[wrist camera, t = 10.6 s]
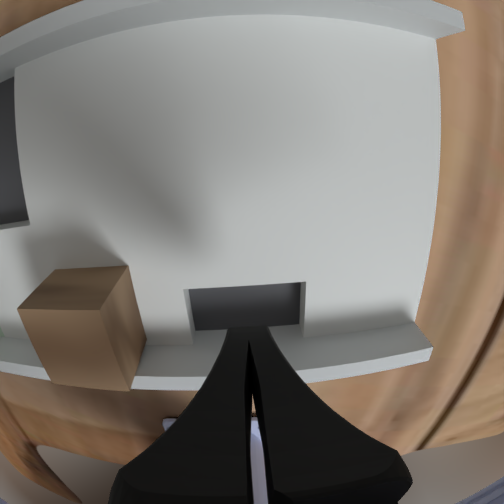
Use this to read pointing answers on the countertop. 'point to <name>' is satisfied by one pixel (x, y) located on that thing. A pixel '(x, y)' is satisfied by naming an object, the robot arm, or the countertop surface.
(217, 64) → the tray
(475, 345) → the countertop surface
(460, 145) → the countertop surface
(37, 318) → the walnut block
